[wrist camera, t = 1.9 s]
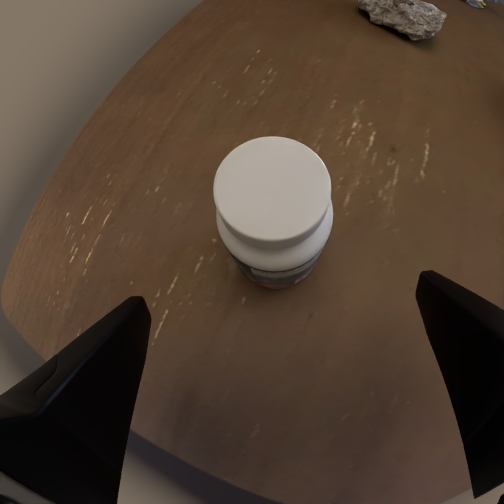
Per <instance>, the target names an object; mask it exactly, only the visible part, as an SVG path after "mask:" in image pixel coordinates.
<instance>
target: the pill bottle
mask: <svg viewBox="0 0 504 504" xmlns="http://www.w3.org/2000/svg"><path fill="white" fill-rule="evenodd" d="M213 194H214V200H215V204H216V207H217V210H216V220H217V227H218V231H219V234H220V236H221V239H222V241H223V243H224V244H225V246H226V248H227V249H228V251H229V252H230V253H231V255H232V257H233V258H234V260H235V261H236V263H237V264H238V266H239V267H240V269H241V270H242V271H243V273H244V274H245V275H246V276H247V277H248V278H249V279H250V280H252V281H253V282H255V283H257V284H259V285H261V286H263V287H267V288H273V289H281V288H287V287H290V286H293V285H295V284H297V283H299V282H300V281H302V280H303V279H304V278H305V277H307V275H308V274H309V273H310V272H311V271H312V269H313V268H314V266H315V264H316V262H317V260H318V258H319V256H320V254H321V252H322V250H323V248H324V246H325V244H326V242H327V240H328V238H329V235H330V232H331V228H332V222H333V207H332V202H331V181H330V176H329V173H328V171H327V168H326V167H325V165H324V163H323V162H322V160H321V159H320V158H319V156H318V155H317V154H316V153H315V152H313V151H312V150H311V149H310V148H308V147H307V146H305V145H304V144H302V143H299V142H297V141H295V140H292V139H288V138H283V137H273V136H272V137H261V138H257V139H253V140H250V141H248V142H246V143H244V144H242V145H240V146H238V147H237V148H235V149H234V150H233V151H232V152H230V153H229V154H228V155H227V156H226V158H225V159H224V160H223V161H222V163H221V165H220V166H219V168H218V170H217V173H216V175H215V179H214V186H213Z"/></svg>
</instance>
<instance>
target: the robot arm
mask: <svg viewBox="0 0 504 504" xmlns="http://www.w3.org/2000/svg"><path fill="white" fill-rule="evenodd" d="M416 300H417V303H418V306H419V309H420V313H421V316H422V319H423V323H424V326H425V329H426V333H427V336H428V338H429V341H430V344H431V346H432V349H433V351H434V354H435V357H436V359H437V362H438V365H439V367H440V370H441V373H442V376H443V378H444V381H445V384H446V387H447V390H448V393H449V396H450V400H451V403H452V406H453V409H454V413H455V416H456V419H457V423H458V427H459V430H460V434H461V438H462V442H463V444H464V445H463V446H464V451H465V455H466V459H467V464H468V469H469V474H470V479H471V484H472V490H473V495H474V499H476V498H477V497H480V496H481V495H483V494H485V493H487V492H489V491H491V490H492V489H494V488H496V487H497V486H499V485H501V484H502V483H504V310H503V309H501V308H499V307H498V306H496V305H494V304H493V303H491V302H489V301H487V300H486V299H484V298H482V297H480V296H479V295H477V294H475V293H473V292H472V291H470V290H468V289H466V288H464V287H463V286H461V285H459V284H457V283H455V282H453V281H452V280H450V279H448V278H446V277H444V276H442V275H440V274H438V273H437V272H435V271H433V270H429V271H423V272H421V273H420V276H419V280H418V284H417V289H416ZM150 327H151V315H150V312H149V310H148V307H147V305H146V302H145V300H144V298H143V297H142V296H131V297H129V298H128V299H127V300H125V301H124V302H123V303H121V304H120V305H119V306H117V307H116V308H115V309H113V310H112V311H111V312H110V313H108V314H107V315H106V316H104V317H103V318H102V319H100V320H99V321H98V322H97V323H95V324H94V325H93V326H91V327H90V328H89V329H88V330H86V331H85V332H84V333H82V334H81V335H80V336H79V337H77V338H76V339H75V340H74V341H72V342H71V343H70V344H68V345H67V346H66V347H65V348H63V349H62V350H61V351H60V352H58V354H56V355H55V356H53V357H52V358H51V359H50V360H48V361H47V362H46V363H45V364H43V365H42V366H41V367H40V368H38V369H37V370H35V371H34V372H33V373H31V374H30V375H29V376H27V377H26V378H24V379H23V380H22V381H20V382H19V383H17V384H16V385H15V386H13V387H12V388H10V389H9V390H8V391H6V392H5V393H3V394H2V395H0V504H117V499H118V492H119V486H120V480H121V474H122V473H121V471H122V467H123V461H124V455H125V450H126V445H127V440H128V434H129V430H130V425H131V420H132V415H133V411H134V406H135V402H136V397H137V393H138V389H139V385H140V381H141V377H142V372H143V369H144V364H145V360H146V354H147V347H148V340H149V333H150ZM497 504H504V494H503V495H501V497H500V499H499V502H498V503H497Z"/></svg>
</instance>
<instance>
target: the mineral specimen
mask: <svg viewBox="0 0 504 504" xmlns="http://www.w3.org/2000/svg"><path fill="white" fill-rule="evenodd" d="M357 1H358V4H359V8H361V9H363V10H365V11H367V12H368V13H369V15H370V17H371V18H370V20H371V22H373V23H375V24H380V25H382V24H384V25H385V26H389V27H392V28H394V29H395V30H398V32H399V33H405V34H406V35H408V36H409V38H410V39H411V40H414V41H415V40H419V39H430V38H431V37H432V36H434V35H435V34H436V33H437V32H438V31H439V30H440V29H441V28H442V24H443V23H444V18H446V15H447V14H446V13H443V12H441V11H439V9H438V8H436V7H435V6H433V5H432V4H429V3H425V2H422V1H420V0H419V1H418V0H357Z"/></svg>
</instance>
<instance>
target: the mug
mask: <svg viewBox="0 0 504 504" xmlns="http://www.w3.org/2000/svg"><path fill="white" fill-rule="evenodd" d="M462 1H463V2H465V3H467V4H469V5H472V6H474V7H477V8H483V6H482V5H486V4H485V3H484V1H483V0H462ZM485 1H489V2H493V3H494V2H498V1H499V0H485Z"/></svg>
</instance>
